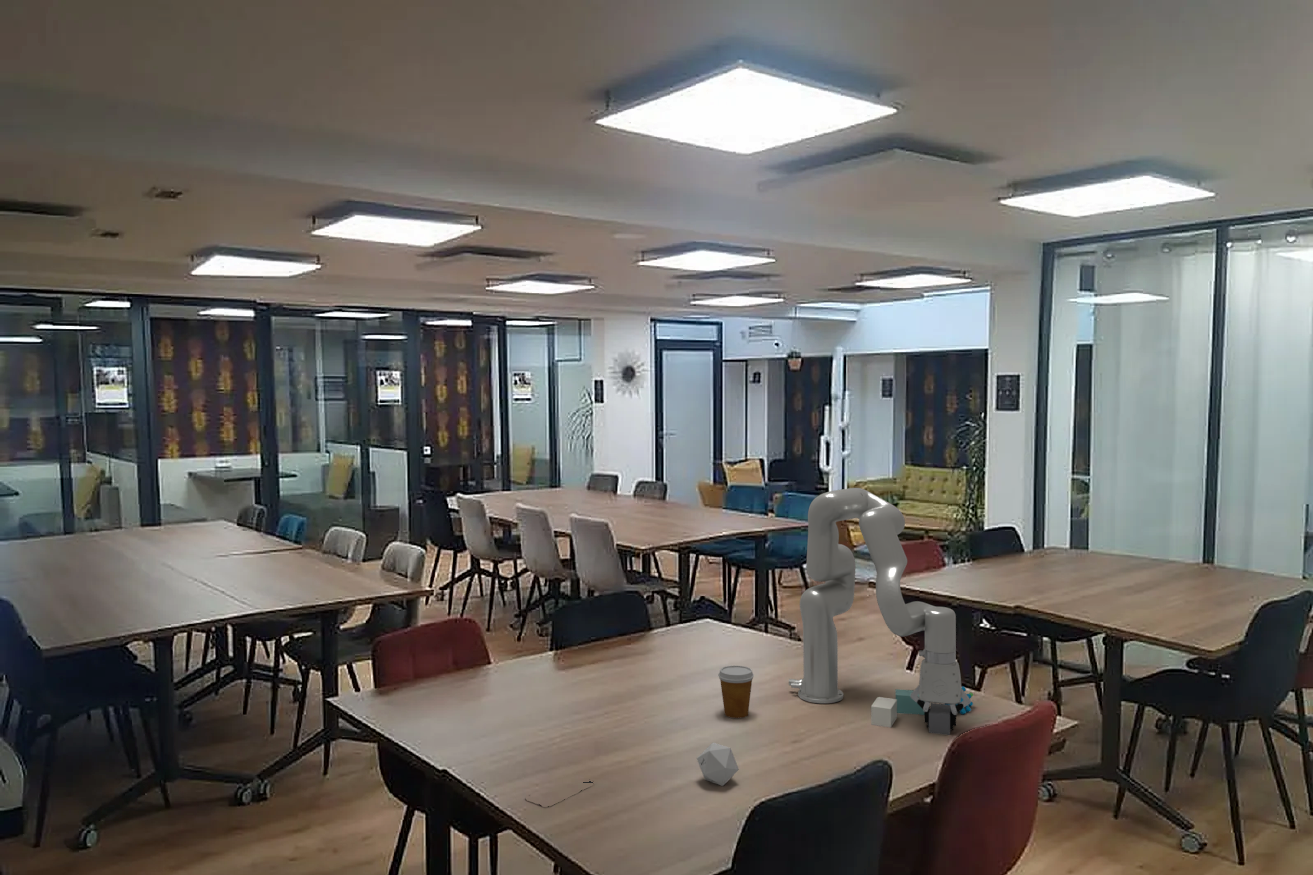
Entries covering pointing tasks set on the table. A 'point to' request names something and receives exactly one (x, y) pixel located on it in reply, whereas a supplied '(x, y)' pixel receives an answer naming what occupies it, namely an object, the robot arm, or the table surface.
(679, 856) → the table surface
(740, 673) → the disposable coffee cup
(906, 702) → the teal block
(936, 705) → the charcoal block
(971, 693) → the gear
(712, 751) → the die
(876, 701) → the cream block
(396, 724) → the table surface
